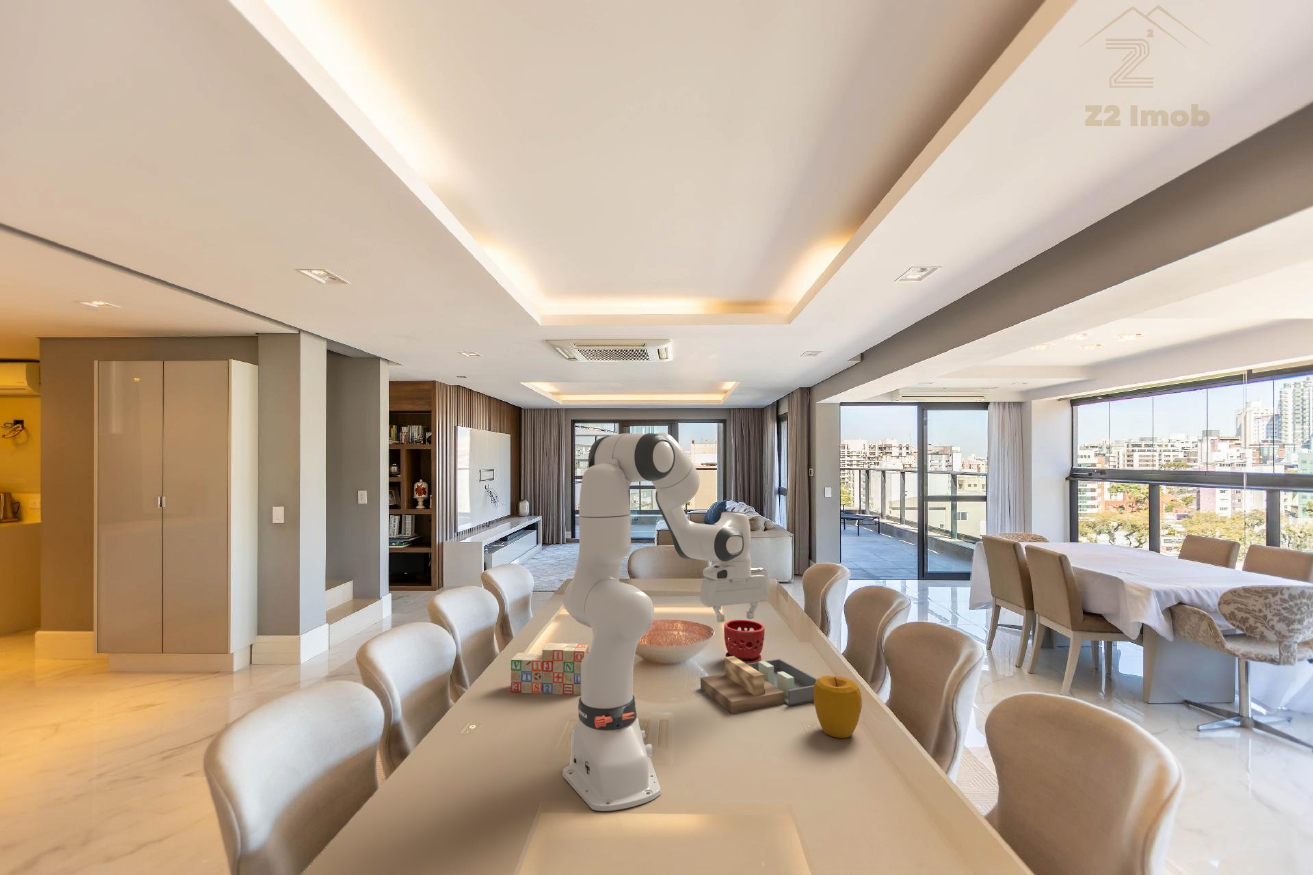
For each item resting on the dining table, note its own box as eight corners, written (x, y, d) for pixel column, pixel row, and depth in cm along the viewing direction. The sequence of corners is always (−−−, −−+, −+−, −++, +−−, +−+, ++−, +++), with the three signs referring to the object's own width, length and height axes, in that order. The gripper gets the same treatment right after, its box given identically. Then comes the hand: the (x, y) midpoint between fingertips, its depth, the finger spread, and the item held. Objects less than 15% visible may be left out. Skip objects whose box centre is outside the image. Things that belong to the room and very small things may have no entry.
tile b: (768, 684, 159) (774, 683, 160) (767, 667, 159) (773, 666, 160) (758, 678, 163) (764, 677, 164) (758, 661, 164) (764, 660, 165)
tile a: (788, 697, 150) (794, 696, 151) (787, 678, 150) (793, 677, 151) (777, 690, 155) (783, 689, 156) (777, 672, 155) (783, 671, 156)
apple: (860, 725, 135) (859, 671, 136) (864, 746, 124) (863, 688, 125) (813, 720, 138) (812, 667, 138) (814, 740, 127) (812, 683, 128)
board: (784, 703, 148) (784, 691, 148) (732, 713, 142) (731, 701, 142) (748, 679, 164) (748, 669, 164) (700, 688, 158) (700, 677, 158)
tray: (826, 698, 150) (826, 683, 151) (789, 706, 146) (789, 690, 146) (779, 671, 171) (779, 658, 171) (746, 677, 166) (745, 663, 166)
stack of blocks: (510, 693, 156) (510, 648, 157) (517, 684, 162) (518, 641, 163) (584, 695, 154) (584, 650, 155) (589, 686, 160) (589, 643, 161)
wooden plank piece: (765, 693, 147) (764, 674, 147) (754, 695, 145) (754, 676, 146) (734, 673, 161) (734, 655, 162) (724, 674, 160) (724, 657, 161)
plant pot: (722, 667, 175) (721, 628, 176) (726, 653, 188) (726, 618, 188) (764, 670, 172) (763, 631, 173) (766, 656, 185) (765, 620, 185)
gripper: (760, 565, 161) (761, 613, 160) (697, 570, 153) (697, 620, 153) (773, 568, 155) (773, 619, 154) (708, 573, 148) (708, 626, 147)
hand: (735, 620), depth 153 cm, fingers open, 8 cm apart
